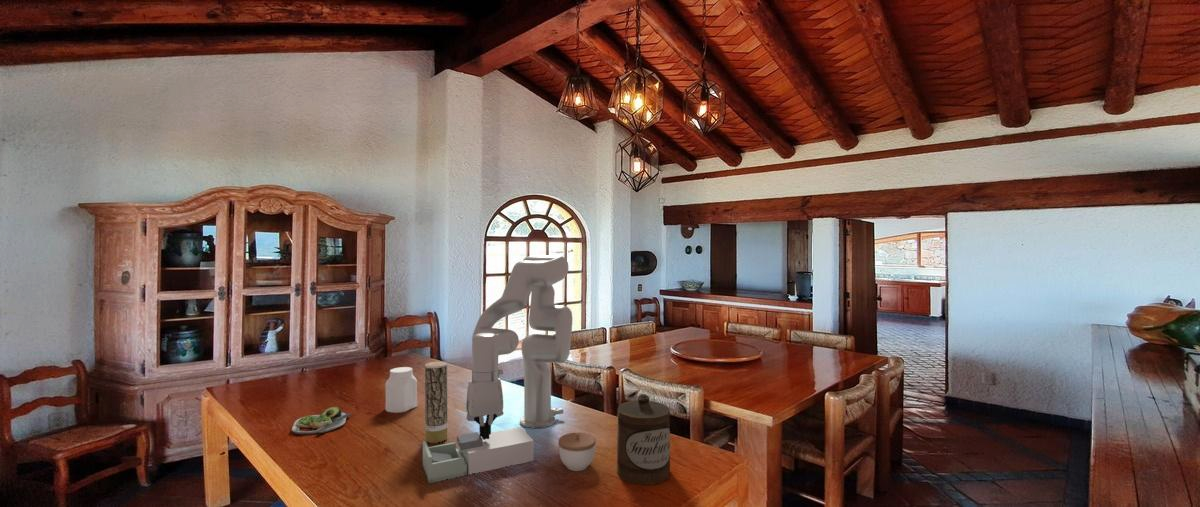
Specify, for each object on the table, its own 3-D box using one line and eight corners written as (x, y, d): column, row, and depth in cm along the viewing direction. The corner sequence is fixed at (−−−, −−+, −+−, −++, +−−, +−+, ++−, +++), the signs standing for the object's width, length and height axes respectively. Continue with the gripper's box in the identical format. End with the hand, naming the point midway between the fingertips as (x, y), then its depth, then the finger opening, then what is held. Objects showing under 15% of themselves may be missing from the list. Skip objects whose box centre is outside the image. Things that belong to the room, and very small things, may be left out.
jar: (403, 401, 196) (403, 365, 196) (421, 404, 192) (421, 367, 192) (380, 410, 185) (380, 372, 185) (399, 414, 182) (399, 374, 181)
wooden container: (632, 489, 126) (632, 406, 125) (608, 465, 139) (608, 390, 139) (680, 478, 132) (680, 399, 131) (653, 457, 145) (653, 384, 145)
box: (458, 458, 144) (457, 435, 144) (466, 475, 133) (466, 450, 133) (422, 465, 139) (422, 441, 139) (429, 483, 129) (428, 457, 129)
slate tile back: (477, 438, 144) (477, 432, 144) (482, 446, 138) (482, 439, 138) (456, 442, 141) (456, 435, 141) (461, 450, 136) (461, 443, 136)
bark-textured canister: (440, 445, 153) (440, 367, 153) (421, 443, 155) (420, 366, 154) (451, 436, 160) (451, 362, 160) (432, 435, 161) (432, 361, 161)
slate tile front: (429, 452, 137) (427, 459, 137) (432, 460, 132) (430, 467, 132) (450, 454, 140) (447, 461, 140) (454, 462, 135) (451, 469, 134)
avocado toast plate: (347, 433, 164) (347, 420, 164) (285, 441, 157) (285, 427, 157) (352, 415, 182) (352, 402, 182) (297, 421, 175) (297, 409, 175)
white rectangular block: (520, 445, 153) (520, 427, 153) (533, 460, 143) (533, 440, 142) (459, 457, 144) (459, 438, 144) (468, 474, 134) (468, 453, 134)
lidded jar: (567, 478, 132) (567, 444, 132) (552, 462, 141) (552, 430, 141) (602, 469, 137) (602, 437, 137) (585, 455, 146) (585, 424, 146)
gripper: (506, 369, 148) (506, 429, 148) (456, 375, 141) (456, 438, 141) (513, 375, 142) (513, 437, 142) (462, 382, 135) (462, 447, 135)
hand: (485, 437), depth 142 cm, fingers closed
